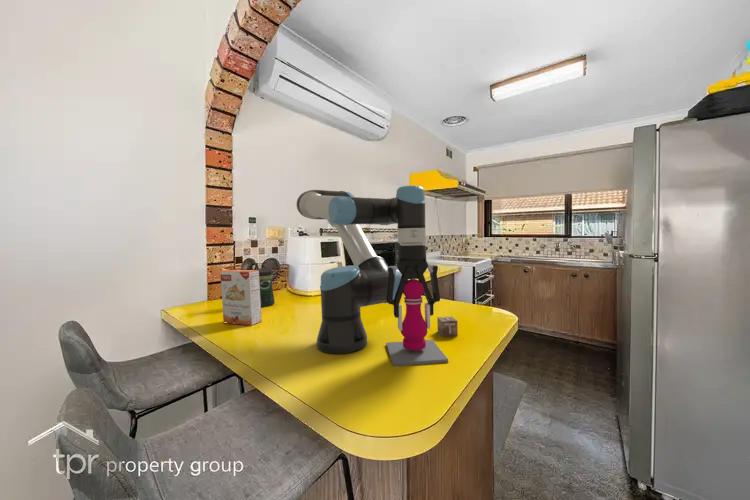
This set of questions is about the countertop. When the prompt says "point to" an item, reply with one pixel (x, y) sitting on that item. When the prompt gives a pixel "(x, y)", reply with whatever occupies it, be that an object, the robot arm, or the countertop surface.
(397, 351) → the grey mat
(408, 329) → the pepper mill
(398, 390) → the countertop surface
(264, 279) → the coffee jar
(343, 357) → the countertop surface
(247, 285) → the cracker box
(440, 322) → the marked cube
